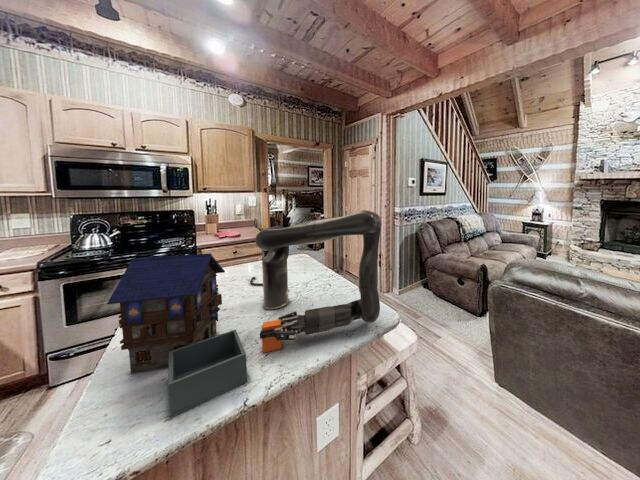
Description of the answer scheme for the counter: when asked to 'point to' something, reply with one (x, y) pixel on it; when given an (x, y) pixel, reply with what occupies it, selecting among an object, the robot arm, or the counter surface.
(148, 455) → the counter surface
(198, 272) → the miniature building
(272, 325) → the block
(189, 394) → the bin
